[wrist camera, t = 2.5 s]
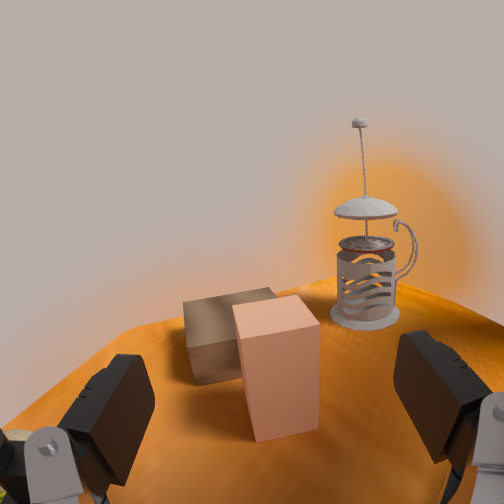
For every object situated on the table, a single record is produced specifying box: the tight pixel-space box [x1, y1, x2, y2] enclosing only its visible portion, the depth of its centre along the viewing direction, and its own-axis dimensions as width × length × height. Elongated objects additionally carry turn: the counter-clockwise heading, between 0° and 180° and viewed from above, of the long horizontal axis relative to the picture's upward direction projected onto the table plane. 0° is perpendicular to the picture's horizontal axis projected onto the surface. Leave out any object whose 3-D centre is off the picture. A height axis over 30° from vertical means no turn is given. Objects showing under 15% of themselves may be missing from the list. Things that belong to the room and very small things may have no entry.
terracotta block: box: [232, 295, 320, 443], centre depth 22 cm, size 5×5×10 cm
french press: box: [330, 118, 418, 331], centre depth 35 cm, size 10×12×25 cm
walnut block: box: [183, 287, 277, 386], centre depth 34 cm, size 11×11×5 cm
